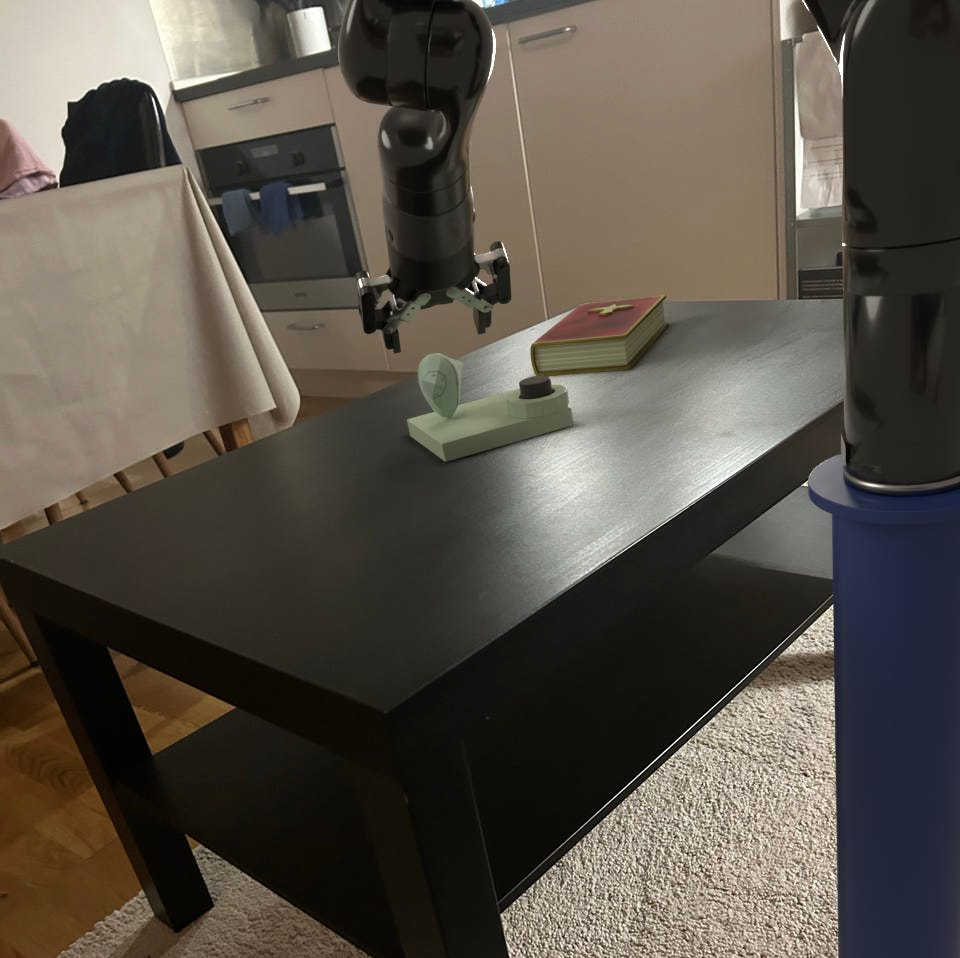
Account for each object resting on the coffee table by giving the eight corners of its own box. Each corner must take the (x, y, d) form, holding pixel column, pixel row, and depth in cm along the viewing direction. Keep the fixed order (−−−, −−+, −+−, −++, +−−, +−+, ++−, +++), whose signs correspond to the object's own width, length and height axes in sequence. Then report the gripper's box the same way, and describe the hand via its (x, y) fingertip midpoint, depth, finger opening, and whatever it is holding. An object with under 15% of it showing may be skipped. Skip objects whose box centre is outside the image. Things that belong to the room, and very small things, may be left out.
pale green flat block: (532, 402, 113) (527, 371, 112) (581, 425, 102) (576, 391, 101) (410, 436, 110) (403, 404, 108) (447, 463, 99) (440, 429, 97)
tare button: (545, 390, 105) (542, 373, 104) (557, 395, 102) (555, 378, 101) (516, 398, 104) (514, 381, 103) (528, 403, 101) (526, 386, 100)
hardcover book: (533, 376, 123) (528, 341, 121) (582, 333, 140) (578, 301, 138) (629, 369, 118) (625, 332, 116) (668, 325, 135) (665, 292, 133)
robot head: (450, 429, 103) (437, 362, 99) (413, 431, 104) (400, 366, 101) (477, 404, 109) (466, 341, 106) (442, 407, 110) (430, 345, 107)
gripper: (500, 168, 87) (497, 290, 102) (336, 203, 85) (358, 320, 101) (523, 239, 84) (516, 352, 100) (355, 275, 83) (375, 384, 99)
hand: (437, 336), depth 100 cm, fingers open, 8 cm apart
